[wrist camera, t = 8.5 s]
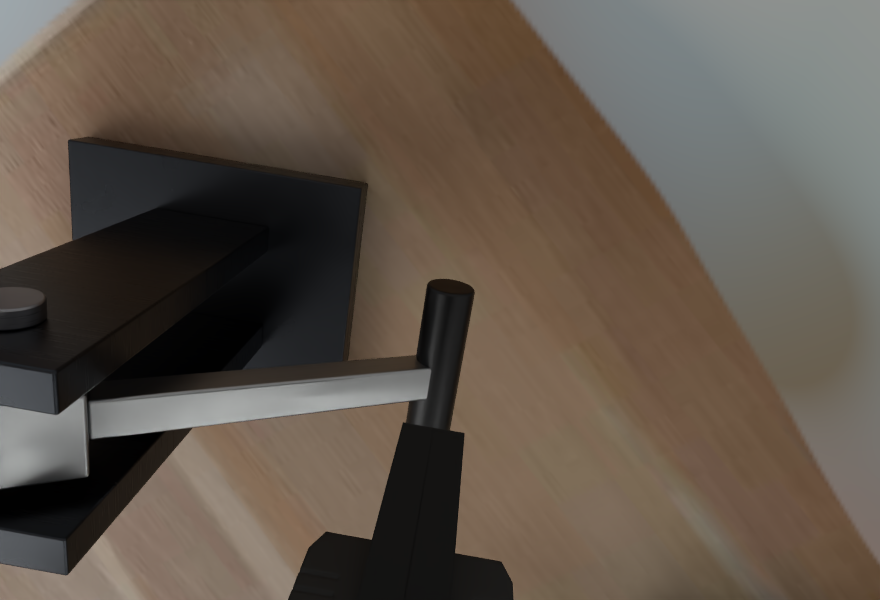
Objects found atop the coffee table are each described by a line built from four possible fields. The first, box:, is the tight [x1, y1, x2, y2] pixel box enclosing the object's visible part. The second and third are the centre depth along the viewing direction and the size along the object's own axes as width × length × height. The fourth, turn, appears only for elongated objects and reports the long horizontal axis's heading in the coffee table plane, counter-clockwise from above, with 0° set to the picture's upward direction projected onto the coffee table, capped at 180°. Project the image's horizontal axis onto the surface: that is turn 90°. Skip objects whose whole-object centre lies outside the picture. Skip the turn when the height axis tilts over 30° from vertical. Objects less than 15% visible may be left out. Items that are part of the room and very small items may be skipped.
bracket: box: [0, 137, 368, 575], centre depth 20 cm, size 11×9×14 cm
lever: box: [0, 279, 475, 490], centre depth 17 cm, size 13×6×2 cm
